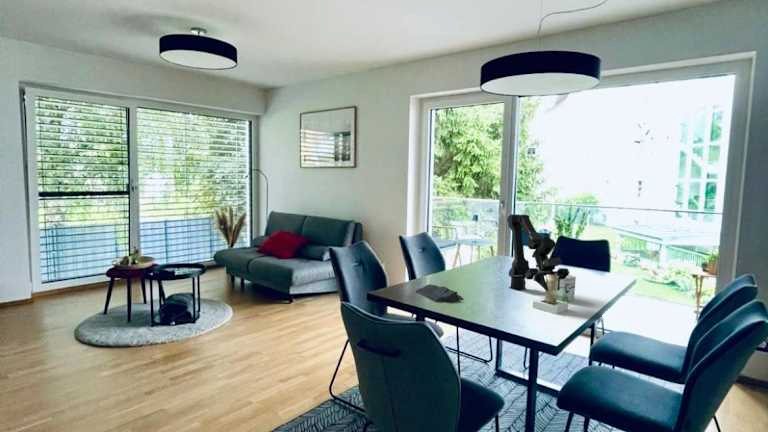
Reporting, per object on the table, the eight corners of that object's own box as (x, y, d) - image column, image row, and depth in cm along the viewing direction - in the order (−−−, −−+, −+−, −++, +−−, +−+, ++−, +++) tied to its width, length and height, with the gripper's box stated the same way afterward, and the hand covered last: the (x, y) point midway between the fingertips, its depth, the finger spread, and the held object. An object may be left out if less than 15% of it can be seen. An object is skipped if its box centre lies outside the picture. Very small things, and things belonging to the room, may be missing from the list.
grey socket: (532, 307, 191) (532, 301, 191) (544, 303, 198) (544, 297, 198) (556, 314, 183) (556, 307, 182) (567, 309, 190) (568, 302, 190)
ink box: (562, 302, 201) (564, 277, 200) (553, 299, 205) (555, 275, 204) (574, 300, 205) (576, 276, 204) (565, 297, 209) (567, 273, 208)
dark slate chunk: (438, 289, 219) (438, 280, 218) (465, 301, 199) (466, 291, 199) (412, 292, 212) (413, 282, 211) (438, 304, 192) (438, 294, 192)
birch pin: (544, 304, 189) (546, 276, 187) (544, 301, 193) (546, 273, 192) (556, 306, 187) (559, 277, 186) (555, 303, 192) (558, 274, 191)
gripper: (529, 250, 191) (540, 281, 181) (568, 250, 193) (581, 281, 183) (520, 264, 199) (530, 293, 189) (558, 264, 202) (569, 293, 192)
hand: (552, 290), depth 188 cm, fingers closed on birch pin, 5 cm apart
